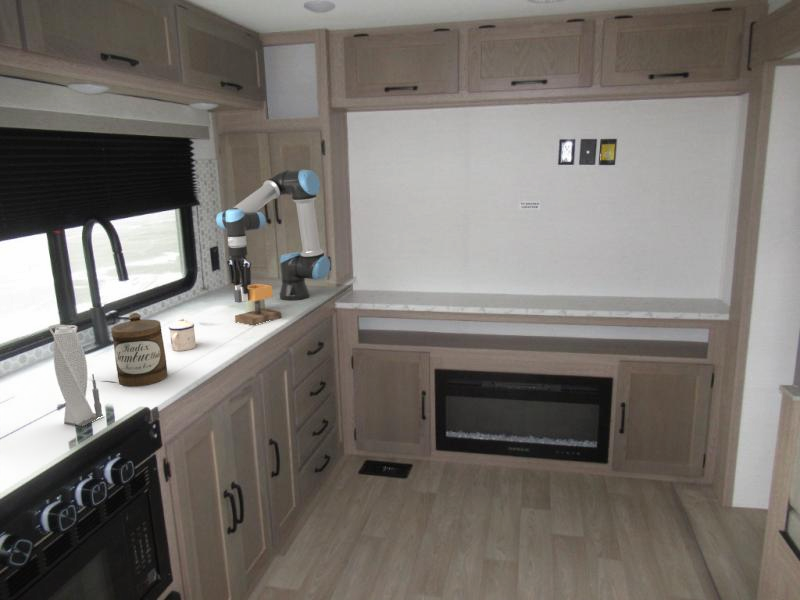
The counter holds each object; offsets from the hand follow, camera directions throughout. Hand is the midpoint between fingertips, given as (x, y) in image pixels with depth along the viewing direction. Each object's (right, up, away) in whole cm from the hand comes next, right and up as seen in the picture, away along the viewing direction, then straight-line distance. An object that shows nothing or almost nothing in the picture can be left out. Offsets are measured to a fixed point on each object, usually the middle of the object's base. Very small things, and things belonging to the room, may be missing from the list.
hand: (242, 300), depth 255 cm
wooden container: (-16, -26, -62) cm, 69 cm away
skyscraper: (-19, -33, -93) cm, 101 cm away
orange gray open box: (+3, +1, +4) cm, 5 cm away
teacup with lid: (-14, -19, -31) cm, 39 cm away
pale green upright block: (0, -6, +23) cm, 24 cm away
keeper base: (+5, -9, +8) cm, 13 cm away
